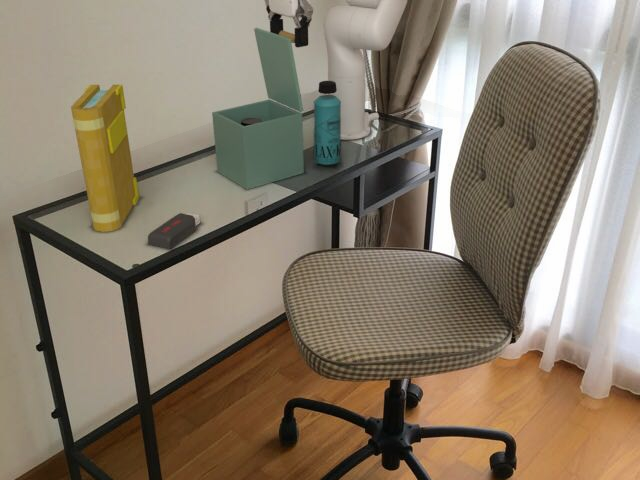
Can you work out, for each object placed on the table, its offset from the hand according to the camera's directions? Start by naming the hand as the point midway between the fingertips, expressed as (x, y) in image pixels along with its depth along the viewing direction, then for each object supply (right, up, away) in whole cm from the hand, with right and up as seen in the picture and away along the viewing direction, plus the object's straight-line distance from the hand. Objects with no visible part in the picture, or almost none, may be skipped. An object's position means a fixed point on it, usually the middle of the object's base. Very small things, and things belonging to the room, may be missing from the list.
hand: (289, 42), depth 174 cm
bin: (-7, -27, +11) cm, 30 cm away
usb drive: (-22, -45, -16) cm, 53 cm away
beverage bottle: (+9, -25, +14) cm, 30 cm away
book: (-37, -39, -8) cm, 55 cm away
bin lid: (-3, -6, +1) cm, 7 cm away
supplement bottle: (-9, -27, +10) cm, 30 cm away
